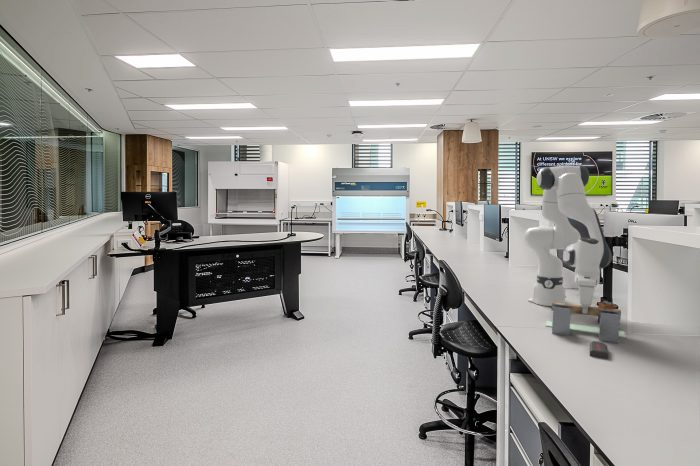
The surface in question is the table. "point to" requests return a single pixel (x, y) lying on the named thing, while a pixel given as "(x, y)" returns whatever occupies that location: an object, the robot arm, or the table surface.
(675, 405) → the table surface
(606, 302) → the battery
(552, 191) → the robot arm
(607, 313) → the stand
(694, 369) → the table surface
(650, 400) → the table surface
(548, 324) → the mat
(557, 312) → the stand
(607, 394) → the table surface
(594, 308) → the rail
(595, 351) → the usb drive
